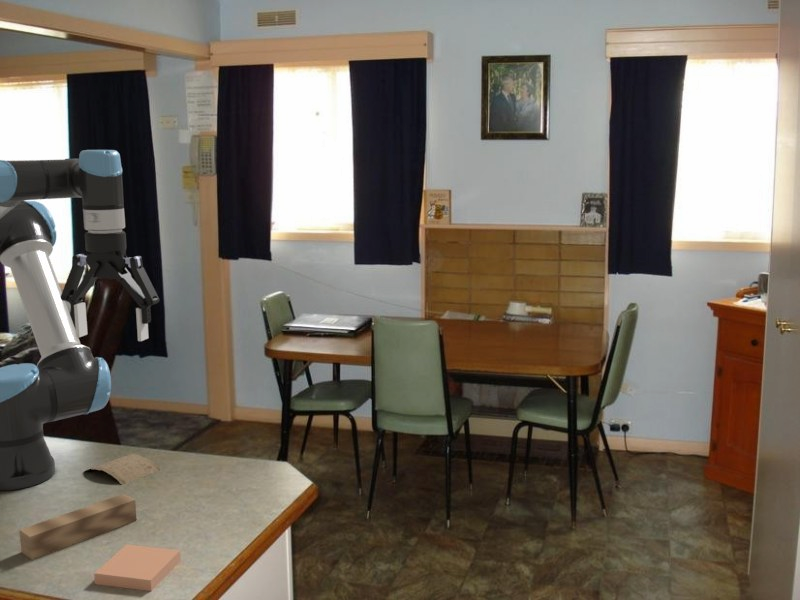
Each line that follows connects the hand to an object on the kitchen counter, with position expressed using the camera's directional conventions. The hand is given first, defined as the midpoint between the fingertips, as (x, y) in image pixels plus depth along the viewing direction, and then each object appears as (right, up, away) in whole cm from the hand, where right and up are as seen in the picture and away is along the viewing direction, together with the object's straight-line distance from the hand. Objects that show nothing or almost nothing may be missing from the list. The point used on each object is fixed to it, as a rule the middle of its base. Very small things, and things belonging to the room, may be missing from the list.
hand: (112, 337), depth 168 cm
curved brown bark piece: (-3, -30, +15) cm, 34 cm away
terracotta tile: (+15, -36, -23) cm, 45 cm away
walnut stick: (-1, -35, -14) cm, 38 cm away
